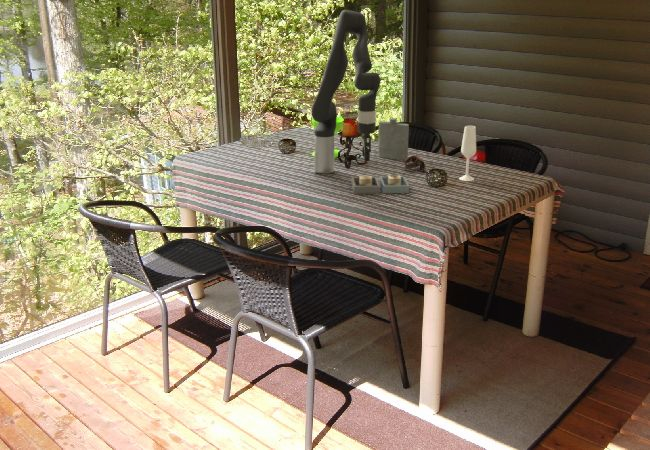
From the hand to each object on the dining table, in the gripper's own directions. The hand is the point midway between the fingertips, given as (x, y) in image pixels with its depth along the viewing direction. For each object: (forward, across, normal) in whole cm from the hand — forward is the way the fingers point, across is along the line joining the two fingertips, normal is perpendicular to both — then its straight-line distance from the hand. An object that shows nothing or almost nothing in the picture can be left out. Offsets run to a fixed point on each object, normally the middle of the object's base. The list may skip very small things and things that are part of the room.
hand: (365, 158), depth 313 cm
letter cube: (+14, 0, +12) cm, 18 cm away
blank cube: (+14, 0, 0) cm, 14 cm away
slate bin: (+14, 0, +12) cm, 19 cm away
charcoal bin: (+14, 0, 0) cm, 14 cm away
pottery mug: (+14, -30, +26) cm, 42 cm away
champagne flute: (+14, -14, +48) cm, 52 cm away
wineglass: (+14, -60, -14) cm, 63 cm away
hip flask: (+14, -52, +18) cm, 57 cm away
